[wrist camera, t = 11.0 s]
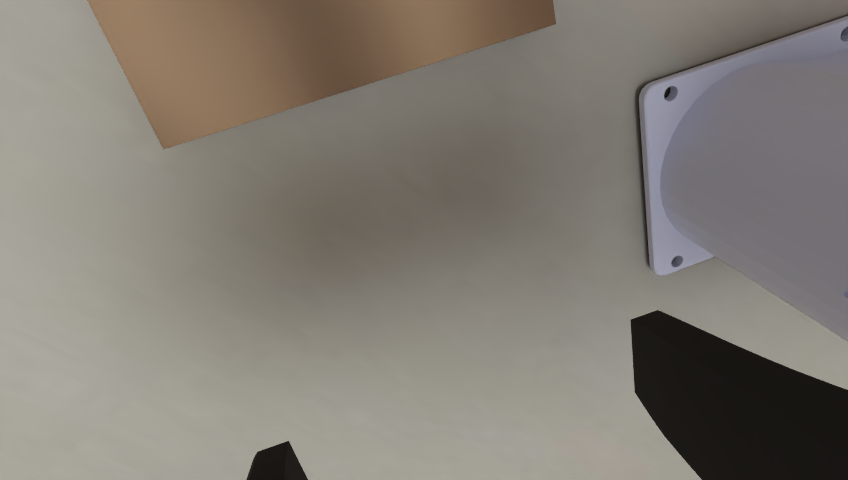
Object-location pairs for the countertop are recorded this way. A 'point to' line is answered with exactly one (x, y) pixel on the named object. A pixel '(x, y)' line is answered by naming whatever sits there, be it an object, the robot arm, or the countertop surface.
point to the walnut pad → (287, 50)
